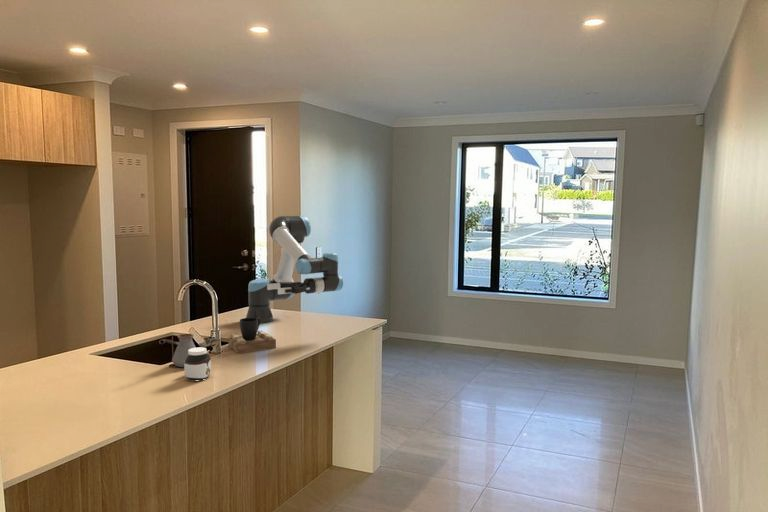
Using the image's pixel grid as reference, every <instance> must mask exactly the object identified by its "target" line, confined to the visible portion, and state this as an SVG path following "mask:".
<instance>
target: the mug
mask: <svg viewBox="0 0 768 512" xmlns="http://www.w3.org/2000/svg"><path fill="white" fill-rule="evenodd" d="M260 325H261V323H260V318H246V317H244V318H240V319H239V329H240V333H241V336H242V337H243V339H244V340H246V341H252V340H255V339H256V335H257V334H258V332H257V331H259V328H260Z"/></svg>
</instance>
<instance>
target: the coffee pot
mask: <svg viewBox="0 0 768 512" xmlns="http://www.w3.org/2000/svg"><path fill="white" fill-rule="evenodd" d="M194 336H195V335H194V334H193V333H181V334H178V335H177V338H178V341H174V340H171V339H167V338H162V339H159V345H160V344H161V345H163V344H165V343H167V344H173V345H177V346H176V348H175V351H174V353H173V356H172V359H171V362H172V364H174V365H175V366H176V367H177V366H179V367H184V363H185V359H186V358H187V356H188V355H189V354H188V350H189V349H191V348H197V347H196V345H195V343H194V341H193V337H194ZM161 341H162V342H163V343H161ZM179 367H178V368H179Z"/></svg>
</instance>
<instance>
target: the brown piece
mask: <svg viewBox="0 0 768 512" xmlns="http://www.w3.org/2000/svg"><path fill="white" fill-rule="evenodd" d="M227 341H228V347H229V348H230V347H231V348H230V349H232V350H233V351H234V350H235V351H234V352H236V353H237V354H244V353H250V352H257V351H258V352H259V351H264V349H265V350H270V348H272V349H277V339H275V338H274V337H273V336H272V335H270V334H269V333H267V332H266V331H263V330H258V331H257V335H256V339H255V340H252V341H246V340H244V339H243V337H242V335H238V334H236V333H231V334H230V337H228V338H227Z"/></svg>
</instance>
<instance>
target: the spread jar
mask: <svg viewBox="0 0 768 512" xmlns="http://www.w3.org/2000/svg"><path fill="white" fill-rule="evenodd" d="M188 354H189V355H188V356H187V358H186V359H185V363H184V368H183V369H184V377H185V378H186V379H187V380H188V379H189V380H188V381H190V380H203V379H206V378H207V379H209V377H210V375H211V373H212V360H211V359H212V358H211V355H210V354H208V353H207V348H206V347H203V346H202V347H200V346H199V347H196V348H191V349H189V350H188ZM207 379H206V380H207ZM203 381H204V380H203Z"/></svg>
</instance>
